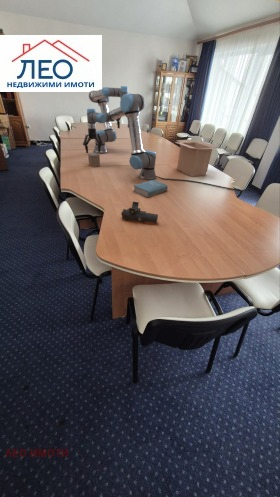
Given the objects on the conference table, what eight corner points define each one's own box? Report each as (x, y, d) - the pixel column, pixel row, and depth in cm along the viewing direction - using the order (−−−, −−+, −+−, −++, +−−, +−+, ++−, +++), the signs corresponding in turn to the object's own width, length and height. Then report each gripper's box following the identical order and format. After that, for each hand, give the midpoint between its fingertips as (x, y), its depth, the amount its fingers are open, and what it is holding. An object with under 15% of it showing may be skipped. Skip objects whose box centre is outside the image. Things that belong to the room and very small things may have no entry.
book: (152, 185, 190) (153, 179, 187) (167, 191, 181) (167, 185, 178) (133, 191, 176) (133, 185, 173) (147, 198, 167) (148, 191, 164)
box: (218, 176, 220) (226, 147, 203) (190, 180, 205) (196, 149, 189) (191, 164, 250) (196, 138, 234) (165, 167, 235) (168, 139, 219)
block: (95, 163, 230) (95, 152, 223) (100, 166, 225) (99, 154, 219) (88, 165, 225) (88, 153, 219) (93, 167, 221) (92, 155, 214)
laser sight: (155, 227, 133) (157, 212, 127) (119, 221, 136) (119, 206, 130) (157, 219, 141) (159, 205, 135) (123, 214, 144) (124, 200, 138)
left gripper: (131, 104, 236) (130, 126, 249) (111, 104, 222) (112, 127, 235) (135, 105, 232) (134, 127, 244) (116, 104, 218) (116, 129, 231)
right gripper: (101, 126, 214) (102, 150, 227) (77, 128, 201) (80, 152, 213) (105, 128, 210) (106, 151, 223) (81, 129, 196) (83, 154, 209)
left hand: (123, 128), depth 240 cm, fingers open, 13 cm apart
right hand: (93, 152), depth 218 cm, fingers open, 13 cm apart
